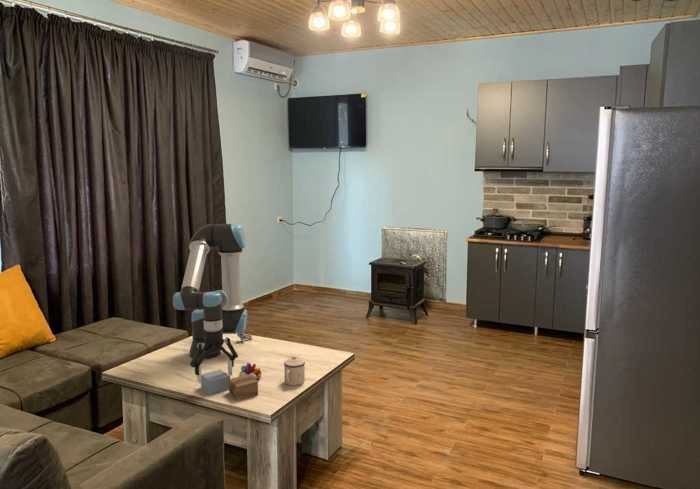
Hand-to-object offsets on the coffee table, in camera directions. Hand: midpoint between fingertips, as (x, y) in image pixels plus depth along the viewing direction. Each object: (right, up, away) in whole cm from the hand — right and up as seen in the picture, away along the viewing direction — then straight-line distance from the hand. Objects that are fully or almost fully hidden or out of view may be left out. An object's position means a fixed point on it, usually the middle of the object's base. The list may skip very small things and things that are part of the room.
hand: (215, 378), depth 227 cm
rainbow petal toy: (+13, -3, +11) cm, 17 cm away
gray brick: (0, -5, +1) cm, 5 cm away
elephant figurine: (0, +5, +60) cm, 60 cm away
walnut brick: (+13, -6, -4) cm, 14 cm away
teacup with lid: (+32, -4, +6) cm, 33 cm away
